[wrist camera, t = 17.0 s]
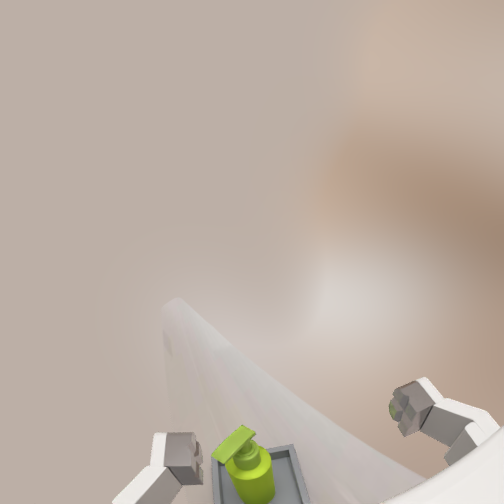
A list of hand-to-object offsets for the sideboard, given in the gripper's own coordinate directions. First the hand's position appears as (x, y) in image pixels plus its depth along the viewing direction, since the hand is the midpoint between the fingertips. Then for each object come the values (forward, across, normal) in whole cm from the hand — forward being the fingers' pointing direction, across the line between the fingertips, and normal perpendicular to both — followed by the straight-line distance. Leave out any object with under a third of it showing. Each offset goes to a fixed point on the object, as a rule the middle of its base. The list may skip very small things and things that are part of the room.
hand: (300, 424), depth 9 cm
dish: (+12, -3, -38) cm, 40 cm away
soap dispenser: (+11, -4, -38) cm, 39 cm away
